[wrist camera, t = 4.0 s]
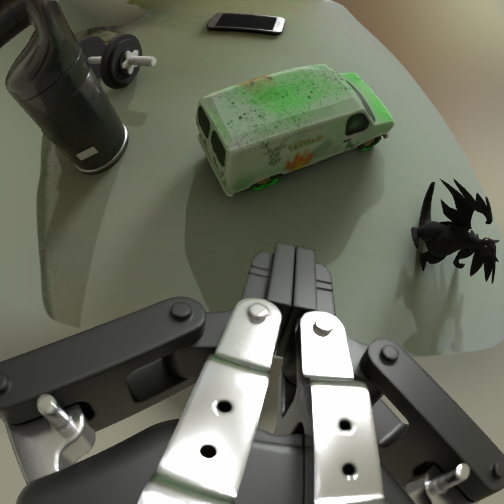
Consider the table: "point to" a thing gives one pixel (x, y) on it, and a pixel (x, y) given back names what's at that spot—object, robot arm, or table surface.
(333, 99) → the toy car
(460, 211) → the figurine
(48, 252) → the table surface
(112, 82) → the dumbbell
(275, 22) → the smartphone
